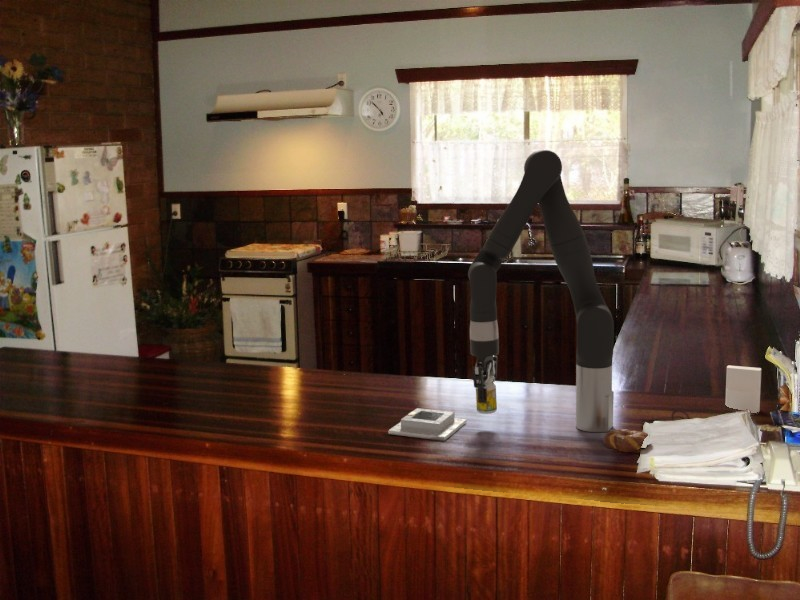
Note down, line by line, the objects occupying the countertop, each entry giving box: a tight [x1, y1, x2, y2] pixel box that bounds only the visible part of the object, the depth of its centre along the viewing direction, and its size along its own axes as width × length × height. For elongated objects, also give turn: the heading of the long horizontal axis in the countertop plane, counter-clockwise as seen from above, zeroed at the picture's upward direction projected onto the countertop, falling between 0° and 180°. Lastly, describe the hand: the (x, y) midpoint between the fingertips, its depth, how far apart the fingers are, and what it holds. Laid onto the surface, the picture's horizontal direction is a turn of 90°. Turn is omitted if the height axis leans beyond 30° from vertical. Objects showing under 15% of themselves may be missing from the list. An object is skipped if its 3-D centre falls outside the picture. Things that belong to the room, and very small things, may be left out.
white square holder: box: [388, 407, 467, 442], centre depth 240 cm, size 16×16×4 cm
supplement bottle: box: [475, 375, 498, 415], centre depth 238 cm, size 5×5×10 cm
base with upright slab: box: [724, 364, 762, 414], centre depth 249 cm, size 9×9×12 cm
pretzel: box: [603, 428, 649, 453], centre depth 224 cm, size 12×11×4 cm
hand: (486, 398), depth 239 cm, fingers closed on supplement bottle, 5 cm apart
